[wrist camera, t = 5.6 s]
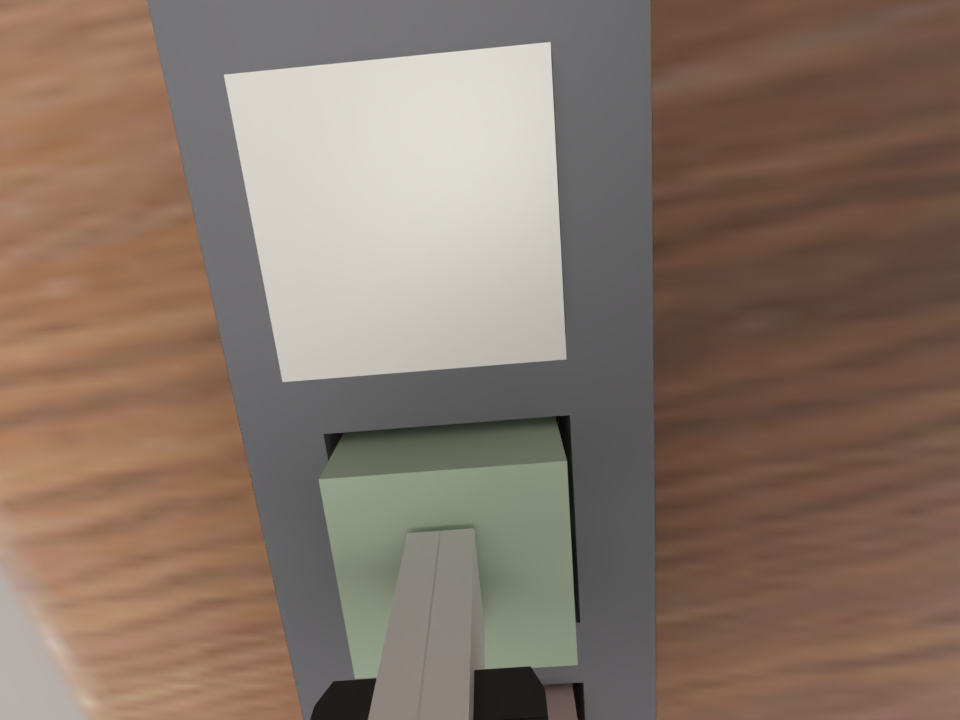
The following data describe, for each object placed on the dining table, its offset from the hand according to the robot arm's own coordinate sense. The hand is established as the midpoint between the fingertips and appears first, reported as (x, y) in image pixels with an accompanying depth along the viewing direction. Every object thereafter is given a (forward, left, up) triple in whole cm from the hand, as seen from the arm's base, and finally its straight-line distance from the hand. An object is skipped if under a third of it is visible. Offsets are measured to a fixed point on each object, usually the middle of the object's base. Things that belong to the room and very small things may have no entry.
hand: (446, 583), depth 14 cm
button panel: (0, 0, -5) cm, 5 cm away
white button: (-7, -4, -3) cm, 9 cm away
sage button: (0, 0, -4) cm, 4 cm away
